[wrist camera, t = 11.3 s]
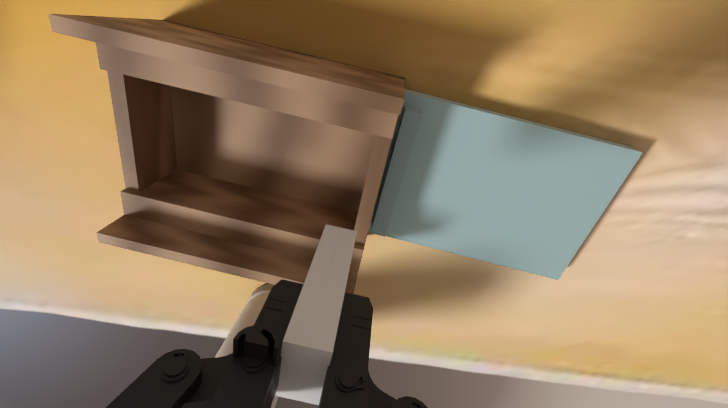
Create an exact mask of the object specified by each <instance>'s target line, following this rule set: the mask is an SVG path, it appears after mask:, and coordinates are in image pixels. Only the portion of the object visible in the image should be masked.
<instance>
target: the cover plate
mask: <svg viewBox="0 0 728 408" xmlns="http://www.w3.org/2000/svg"><path fill="white" fill-rule="evenodd" d="M642 153H643V152H641V151H639V150H637V149H635V148H633V147H631V146H628V145H624V144H620V143H616V142H612V141H608V140H604V139H600V138H596V137H592V136H588V135H585V134H581V133H577V132H573V131H569V130H565V129H561V128H557V127H553V126H549V125H545V124H541V123H538V122H534V121H530V120H526V119H522V118H518V117H514V116H510V115H506V114H502V113H498V112H495V111H491V110H487V109H483V108H479V107H475V106H471V105H467V104H463V103H459V102H455V101H451V100H448V99H444V98H440V97H436V96H432V95H428V94H424V93H420V92H416V91H412V90H408V89H405V90H404V102H403V106H402V109H401V113H400V115H398V118H397V122H396V126H395V130H394V134H393V138H392V140H391V144H390V148H389V152H388V156H387V160H386V164H385V168H384V171H383V175H382V179H381V183H380V187H379V191H378V195H377V199H376V202H375V206H374V210H373V214H372V218H371V222H370V226H369V230H368V232H371V233H373V234H377V235H381V236H388V237H392V238H395V239H399V240H403V241H407V242H411V243H415V244H419V245H423V246H427V247H431V248H435V249H439V250H443V251H446V252H450V253H454V254H458V255H462V256H466V257H470V258H474V259H478V260H482V261H486V262H490V263H494V264H498V265H501V266H505V267H509V268H513V269H517V270H521V271H525V272H529V273H533V274H537V275H541V276H545V277H549V278H552V279H556V280H558V279H559V278H560V276H561V275H562V273H563V272H564V270H565V269H566V267H567V266H568V264H569V263H570V261H571V260H572V258H573V257H574V255H575V254H576V252H577V251H578V249H579V248H580V246H581V245H582V243H583V242H584V240H585V239H586V237H587V236H588V234H589V233H590V231H591V230H592V228H593V227H594V225H595V224H596V222H597V221H598V219H599V218H600V216H601V215H602V213H603V212H604V210H605V209H606V207H607V206H608V204H609V203H610V201H611V200H612V198H613V197H614V195H615V194H616V192H617V191H618V189H619V188H620V186H621V185H622V183H623V182H624V180H625V179H626V177H627V176H628V174H629V173H630V171H631V170H632V168H633V167H634V165H635V164H636V162H637V161H638V159H639V158H640V156H641V155H642Z"/></svg>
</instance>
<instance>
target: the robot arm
mask: <svg viewBox="0 0 728 408" xmlns="http://www.w3.org/2000/svg"><path fill="white" fill-rule="evenodd" d="M356 234H357V231H354V230H349V229H345V228H340V227H336V226H331V225H327V224H326V225H325V228H324V231H323V233H322V236H321V239H320V241H319V244H318V247H317V250H316V252H315V255H314V258H313V260H312V263H311V266H310V269H309V271H308V274H307V277H306V279H305V282H304V284H301V283H296V282H292V281H287V280H283V279H282V280H280V281H279V282H278V283H277V284H275V285H274V286H273V287H272V289H271V291H270V293H269V295H268V297H267V300H266V301H265V303H264V305H263V308H262V309H261V311H260V313H259V315H258V317H257V319H256V322H255V324H254V325H253V326H249V327H246V328H244V329H243V330H241V331H239V332H238V333H237V335H236V336H235V337H234V338H233V353H232V354H229V355H227V356H223V357H217V358H207V359H200V356H199V355H197V354H196V353H195V352H194V351H191V350H187V349H179V350H174V351H171V352H168V353H166V354H164V355H163V356H161V357H160V358H159V359H157V360H156V361H155V362H154V363H153V364H152V365H151V366H150V367H148V369H146V370H145V371H144V372H143V373H142V374H141V375H140V376H139V377H138V378H137V379H136V380H135V381H134V382H133V383H132V384H130V385H129V386H128V387H127V388H126V389H125V390H124V391H123V392H122V393H121V394H120V395H119V396H118V397H117V398H116V399H115V400H114V401H112V402H111V403H110V404H109V405H108V406H107V407H106V408H271V405H272V402H273V399H274V396H275V393H276V396H279V397H284V398H289V399H293V400H298V401H303V402H307V403H312V404H317V405H319V407H318V408H427V407H426V405H424V403H423V402H421V401H419V400H418V399H416V398H413V397H407V396H406V397H402V398H398V399H397V400H396V399H394V398H393V397H391V396H389V395H387V394H386V393H384V392H383V391H381V390H380V389H379V388H378V387H377V386H376V385H375V384H374V383H373V382H372V380H371V378H370V375H369V372H368V360H369V348H370V337H371V326H372V314H373V307H372V305H371V302H370V300H369V298H368V297H363V296H359V295H354V294H350V293H345V289H346V284H347V279H348V274H349V269H350V264H351V259H352V254H353V249H354V244H355V239H356Z"/></svg>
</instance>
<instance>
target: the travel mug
mask: <svg viewBox="0 0 728 408" xmlns="http://www.w3.org/2000/svg"><path fill="white" fill-rule="evenodd" d="M273 286H274V284H266V285H263V286H261V287H258V288H257V289H256V290H255V291H254V292H253V294H252V296H251V297H250V299H249V301H248V303H247V304H246V306H245V307H244V309H243V311H242V313H241V314H240V316H239V318H238V319H237V321H236V323H235V324H234V326H233V328H232V330H231V331H230V333H229V335H228V336H227V338H226V340H225V341H224V343H223V345H222V346H221V348H220V350H219V352H218V353H217V355H216V357H215V358H217V357H223V356H227V355H229V354H232V353H233V338H234V337H235V336H236V335H237V333H238V332H239V331H241V330H243V329H244V328H246V327H249V326H253V325H254V324H255V322H256V319H257V317H258V315H259V313H260V311H261V309H262V308H263V305H264V303H265V301H266V300H267V297H268V295H269V293H270V291H271V289H272V287H273ZM277 399H278V396H276V393H275V396H274V399H273V402H272V405H271V408H275V405H276V402H277Z"/></svg>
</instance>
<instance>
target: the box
mask: <svg viewBox="0 0 728 408" xmlns="http://www.w3.org/2000/svg"><path fill="white" fill-rule="evenodd" d="M49 18H50V23H51V27H52V32H56V33H60V34H64V35H68V36H72V37H76V38H81V39H85V40H89V41H93V42H96V46H97V52H98V58H99V64H100V69H103V70H107V72H108V78H109V84H110V91H111V97H112V104H113V110H114V116H115V123H116V129H117V136H118V142H119V148H120V155H121V161H122V168H123V174H124V180H125V187H126V189H124V190H122V191H121V197H122V203H123V209H124V215H123V216H122V217H120V218H119V219H117V220H116V221H114V222H113V223H111V224H109V225H108V226H106V227H105V228H103V229H102V230H100V231H99V232H97V237H98V241H99V242H100V243H104V244H109V245H113V246H117V247H121V248H125V249H129V250H133V251H137V252H142V253H146V254H150V255H154V256H158V257H162V258H166V259H170V260H175V261H179V262H183V263H187V264H191V265H195V266H199V267H203V268H208V269H212V270H216V271H220V272H224V273H228V274H232V275H236V276H241V277H245V278H249V279H253V280H257V281H261V282H265V283H269V284H274V285H275V284H277V283H278V282H279V281H280V280H282V279H283V280H287V281H292V282H296V283H301V284H304V282H305V279H306V277H307V274H308V271H309V269H310V266H311V263H312V260H313V258H314V255H315V252H316V250H317V247H318V244H319V241H320V239H321V236H322V233H323V231H324V228H325V225H326V224H327V225H331V226H336V227H340V228H345V229H349V230H354V231H357V234H356V239H355V244H354V249H353V254H352V259H351V264H350V269H349V274H348V279H347V284H346V289H345V293H350V294H353V293H354V288H355V283H356V279H357V274H358V269H359V265H360V262H361V258H362V254H363V250H364V245H365V241H366V237H367V233H368V230H369V226H370V222H371V218H372V214H373V210H374V206H375V202H376V199H377V195H378V191H379V187H380V183H381V179H382V175H383V171H384V168H385V164H386V160H387V156H388V152H389V148H390V144H391V140H392V138H393V134H394V130H395V126H396V122H397V118H398V115H400V113H401V109H402V106H403V102H404V90H405V78H402V77H397V76H393V75H389V74H385V73H381V72H377V71H372V70H368V69H364V68H360V67H356V66H352V65H347V64H343V63H339V62H335V61H331V60H327V59H322V58H318V57H314V56H310V55H306V54H301V53H297V52H293V51H289V50H285V49H281V48H276V47H272V46H268V45H264V44H260V43H256V42H251V41H247V40H243V39H239V38H235V37H231V36H226V35H222V34H218V33H214V32H210V31H205V30H201V29H197V28H193V27H189V26H185V25H180V24H176V23H172V22H168V21H164V20H152V19H134V18H115V17H97V16H79V15H61V14H49Z"/></svg>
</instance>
